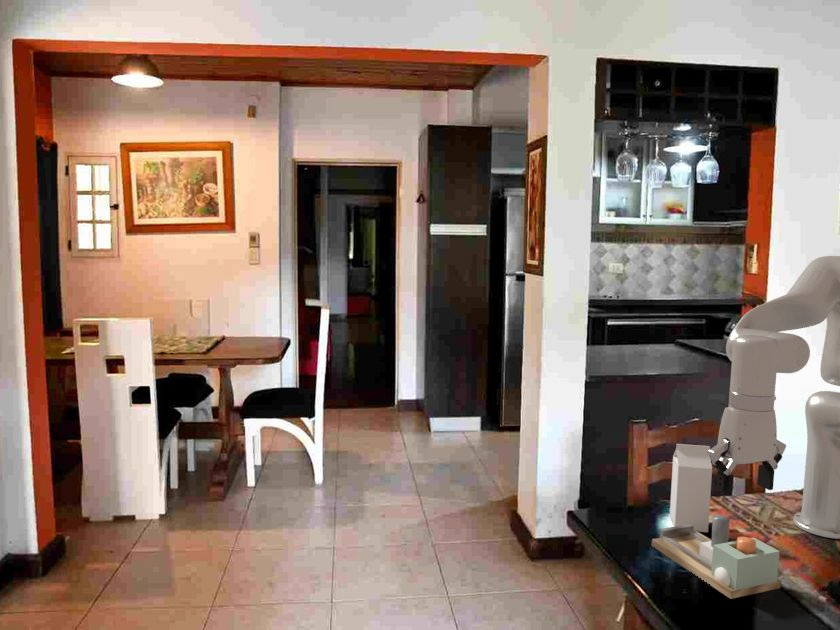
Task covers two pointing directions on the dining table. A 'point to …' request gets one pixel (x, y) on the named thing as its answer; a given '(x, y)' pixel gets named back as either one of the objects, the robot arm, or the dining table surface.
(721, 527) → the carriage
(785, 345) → the robot arm
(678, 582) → the dining table surface
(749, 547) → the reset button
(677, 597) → the dining table surface
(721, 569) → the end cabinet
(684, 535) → the track
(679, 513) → the milk carton
